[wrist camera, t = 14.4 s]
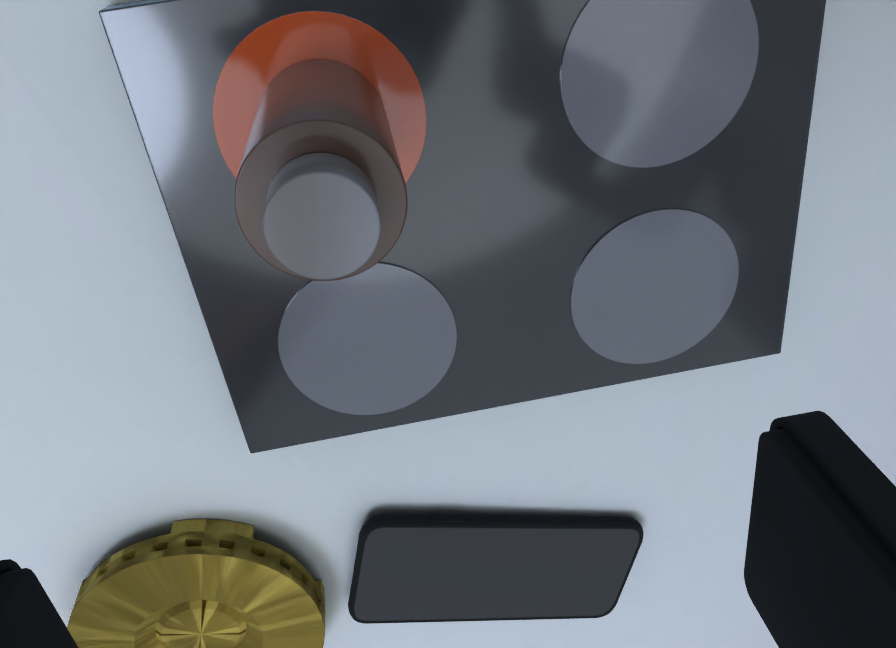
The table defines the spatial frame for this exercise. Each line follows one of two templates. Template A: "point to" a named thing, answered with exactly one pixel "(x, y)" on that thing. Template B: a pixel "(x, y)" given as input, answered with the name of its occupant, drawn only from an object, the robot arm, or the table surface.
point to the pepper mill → (321, 174)
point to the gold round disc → (200, 594)
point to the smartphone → (490, 567)
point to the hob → (491, 195)
